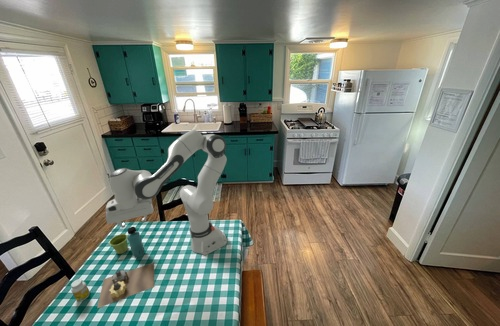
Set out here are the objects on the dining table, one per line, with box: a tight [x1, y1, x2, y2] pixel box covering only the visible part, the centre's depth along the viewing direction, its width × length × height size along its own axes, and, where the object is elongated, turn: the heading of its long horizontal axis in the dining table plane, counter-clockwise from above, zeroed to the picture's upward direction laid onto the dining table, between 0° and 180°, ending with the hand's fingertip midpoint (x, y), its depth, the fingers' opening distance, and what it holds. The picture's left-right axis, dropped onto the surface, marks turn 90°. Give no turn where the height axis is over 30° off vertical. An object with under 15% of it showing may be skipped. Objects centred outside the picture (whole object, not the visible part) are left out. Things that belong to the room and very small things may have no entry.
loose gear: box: [109, 281, 126, 298], centre depth 98 cm, size 6×6×3 cm
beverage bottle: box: [127, 226, 146, 258], centre depth 117 cm, size 6×7×20 cm
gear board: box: [97, 262, 155, 309], centre depth 102 cm, size 24×16×6 cm, turn 115°
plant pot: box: [108, 233, 129, 255], centre depth 123 cm, size 9×9×9 cm
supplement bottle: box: [70, 278, 91, 302], centre depth 97 cm, size 5×5×10 cm
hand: (134, 224), depth 103 cm, fingers open, 8 cm apart
